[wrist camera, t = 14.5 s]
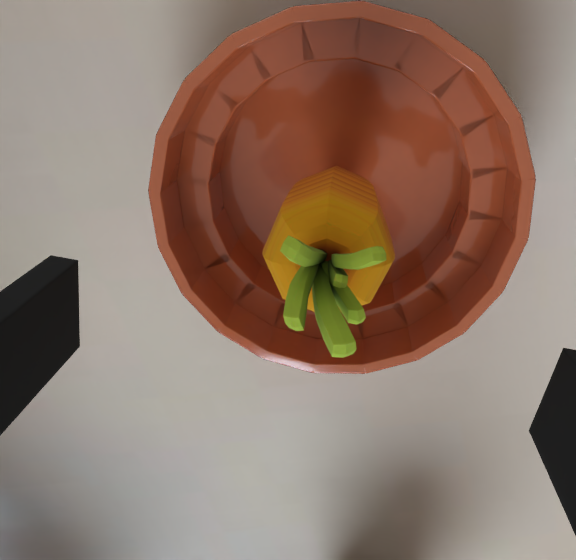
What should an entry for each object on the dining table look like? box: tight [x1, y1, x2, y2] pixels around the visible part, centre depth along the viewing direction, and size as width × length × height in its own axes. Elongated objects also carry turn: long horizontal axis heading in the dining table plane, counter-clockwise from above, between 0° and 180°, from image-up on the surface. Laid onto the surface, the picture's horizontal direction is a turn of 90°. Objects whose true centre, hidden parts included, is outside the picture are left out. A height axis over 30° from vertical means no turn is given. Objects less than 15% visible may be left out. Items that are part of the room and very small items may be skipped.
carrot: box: [262, 166, 395, 358], centre depth 23 cm, size 5×5×15 cm
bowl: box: [148, 1, 536, 374], centre depth 27 cm, size 17×17×6 cm
